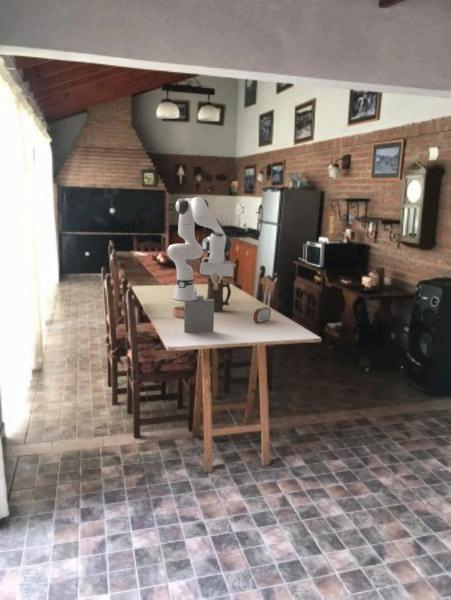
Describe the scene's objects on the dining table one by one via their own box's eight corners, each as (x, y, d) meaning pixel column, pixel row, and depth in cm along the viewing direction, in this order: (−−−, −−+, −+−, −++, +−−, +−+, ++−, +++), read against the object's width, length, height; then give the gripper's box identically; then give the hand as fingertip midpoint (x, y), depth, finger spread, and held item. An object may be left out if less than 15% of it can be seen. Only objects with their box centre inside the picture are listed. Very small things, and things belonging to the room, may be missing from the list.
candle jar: (177, 311, 312) (178, 305, 311) (197, 313, 308) (198, 307, 308) (169, 316, 299) (169, 309, 299) (190, 318, 296) (190, 312, 295)
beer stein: (207, 312, 313) (210, 280, 309) (203, 308, 323) (206, 278, 320) (230, 313, 318) (233, 282, 314) (226, 309, 328) (229, 279, 324)
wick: (215, 288, 304) (215, 272, 302) (218, 288, 304) (219, 272, 301) (213, 289, 300) (213, 273, 298) (216, 290, 300) (217, 273, 298)
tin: (267, 319, 301) (267, 305, 300) (271, 320, 300) (272, 306, 298) (252, 323, 290) (253, 309, 288) (256, 324, 288) (257, 310, 286)
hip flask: (212, 330, 272) (213, 294, 268) (214, 332, 268) (215, 296, 264) (183, 331, 268) (184, 294, 264) (184, 333, 265) (185, 296, 260)
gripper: (235, 260, 298) (234, 283, 301) (202, 258, 304) (201, 280, 307) (232, 261, 292) (231, 285, 295) (199, 259, 298) (198, 282, 301)
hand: (216, 282), depth 301 cm, fingers closed on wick, 2 cm apart
